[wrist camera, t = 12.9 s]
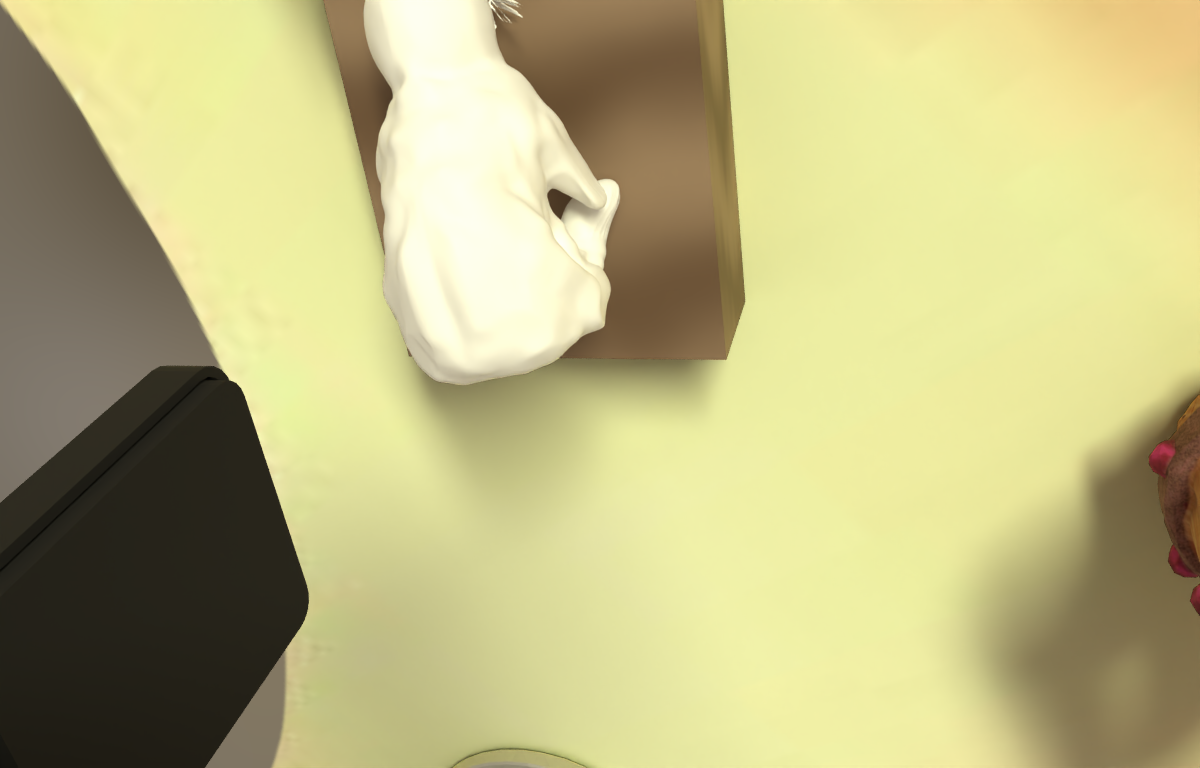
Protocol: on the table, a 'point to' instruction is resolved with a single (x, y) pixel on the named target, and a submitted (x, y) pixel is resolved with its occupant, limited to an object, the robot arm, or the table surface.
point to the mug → (1182, 494)
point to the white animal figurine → (480, 199)
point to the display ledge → (619, 154)
